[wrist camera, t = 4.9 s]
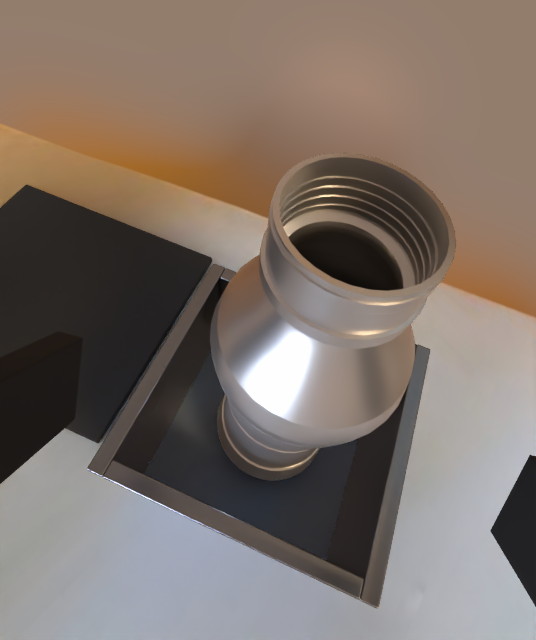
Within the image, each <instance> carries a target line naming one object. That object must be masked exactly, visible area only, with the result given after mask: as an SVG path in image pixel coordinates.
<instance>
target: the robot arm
mask: <svg viewBox="0 0 536 640" xmlns="http://www.w3.org/2000/svg"><path fill="white" fill-rule="evenodd" d="M82 344H83V338H82V337H79V336H75V335H71V334H67V333H63V332H59V331H57V332H55V333H53V334H50V335H48V336H46V337H44V338H42V339H39V340H37V341H35V342H33V343H31V344H28V345H26V346H24V347H22V348H19V349H17V350H15V351H13V352H11V353H8V354H6V355H4V356H2V357H0V484H1V483H2V482H3V481H4V480H5V479H7V478H8V477H9V476H10V475H11V474H12V473H14V472H15V471H16V470H17V469H18V468H19V467H20V466H22V465H23V464H24V463H25V462H26V461H27V460H29V459H30V458H31V457H32V456H33V455H34V454H35V453H37V452H38V451H39V450H40V449H41V448H42V447H43V446H45V445H46V444H47V443H48V442H49V441H50V440H52V439H53V438H54V437H55V436H56V435H57V434H58V433H60V432H61V431H62V430H63V429H64V428H65V427H66V426H68V425H69V424H70V423H71V422H72V421H73V420H75V415H76V405H77V395H78V384H79V374H80V364H81V354H82ZM491 533H492V534H493V536H494V538H495V539H496V541H497V543H498V544H499V546H500V548H501V549H502V551H503V553H504V554H505V556H506V558H507V559H508V561H509V563H510V564H511V566H512V568H513V569H514V571H515V573H516V574H517V576H518V578H519V579H520V581H521V583H522V584H523V586H524V588H525V589H526V591H527V593H528V594H529V596H530V598H531V599H532V601H533V603H534V604H535V606H536V456H532V455H530V456H529V458H528V460H527V462H526V464H525V466H524V467H523V469H522V471H521V473H520V475H519V477H518V479H517V481H516V483H515V485H514V487H513V489H512V490H511V492H510V494H509V496H508V498H507V500H506V502H505V504H504V506H503V508H502V510H501V512H500V513H499V515H498V517H497V519H496V521H495V523H494V525H493V527H492V529H491Z"/></svg>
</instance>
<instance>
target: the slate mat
mask: <svg viewBox="0 0 536 640" xmlns="http://www.w3.org/2000/svg"><path fill="white" fill-rule="evenodd" d="M211 262H212V258H211V257H208V256H206V255H203V254H200V253H198V252H195V251H193V250H190V249H188V248H185V247H183V246H180V245H178V244H175V243H173V242H170V241H168V240H165V239H163V238H160V237H158V236H155V235H152V234H150V233H147V232H145V231H142V230H140V229H137V228H135V227H132V226H130V225H127V224H125V223H122V222H120V221H117V220H115V219H112V218H110V217H107V216H105V215H102V214H99V213H97V212H94V211H92V210H89V209H87V208H84V207H82V206H79V205H77V204H74V203H72V202H69V201H67V200H64V199H62V198H59V197H57V196H54V195H52V194H49V193H46V192H44V191H41V190H39V189H36V188H34V187H31V186H29V185H25V186H24V187H23V188H22V189H21V190H20V191H19V192H17V193H16V194H15V195H14V196H13V197H12V198H11V199H10V200H9V201H8V202H6V203H5V204H4V205H3V206H2V207H1V208H0V357H2V356H4V355H6V354H8V353H11V352H13V351H15V350H17V349H19V348H22V347H24V346H26V345H28V344H31V343H33V342H35V341H37V340H39V339H42V338H44V337H46V336H48V335H50V334H53V333H55V332H57V331H59V332H63V333H67V334H71V335H75V336H79V337H82V338H83V344H82V354H81V364H80V374H79V384H78V395H77V405H76V415H75V420H73V421H72V422H71V423H70V424H69V425H68V426H66V427H65V428H66V429H69V430H71V431H73V432H75V433H77V434H79V435H81V436H84V437H86V438H88V439H90V440H92V441H94V442H96V443H99V442H100V440H101V439H102V437H103V436H104V434H105V432H106V431H107V429H108V428H109V426H110V424H111V423H112V421H113V420H114V418H115V416H116V415H117V413H118V412H119V410H120V408H121V407H122V405H123V404H124V402H125V400H126V399H127V397H128V395H129V394H130V392H131V391H132V389H133V387H134V386H135V384H136V383H137V381H138V379H139V378H140V376H141V375H142V373H143V371H144V370H145V368H146V367H147V365H148V363H149V362H150V360H151V358H152V357H153V355H154V354H155V352H156V350H157V349H158V347H159V346H160V344H161V342H162V341H163V339H164V338H165V336H166V334H167V333H168V331H169V330H170V328H171V326H172V325H173V323H174V321H175V320H176V318H177V317H178V315H179V313H180V312H181V310H182V309H183V307H184V305H185V304H186V302H187V301H188V299H189V297H190V296H191V294H192V293H193V291H194V289H195V288H196V286H197V284H198V283H199V281H200V280H201V278H202V276H203V275H204V273H205V272H206V270H207V268H208V267H209V265H210V264H211Z"/></svg>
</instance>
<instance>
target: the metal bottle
mask: <svg viewBox="0 0 536 640" xmlns="http://www.w3.org/2000/svg"><path fill="white" fill-rule="evenodd" d="M455 248H456V239H455V230H454V227H453V224H452V222H451V218H450V216H449V215H448V213H447V211H446V209H445V208H444V206H443V204H442V203H441V201H440V200H439V199H438V198H437V197H436V196H435V194H434V193H433V192H432V191H431V190H430V189H429V188H428V187H427V186H425V185H424V184H423V183H422V182H421V181H420V180H418V179H417V178H416V177H414V176H412V175H411V174H410V173H408V172H407V171H405V170H403V169H401V168H399V167H396V166H395V165H393V164H391V163H388V162H385V161H383V160H380V159H377V158H373V157H369V156H365V155H360V154H349V153H331V154H325V155H319V156H315V157H312V158H309V159H307V160H304V161H302V162H300V163H299V164H297V165H296V166H294V167H292V168H291V169H290V170H289V171H288V172H287V173H286V174H285V175H284V176H283V177H282V178H281V180H280V182H279V184H278V186H277V187H276V189H275V194H274V195H273V197H272V202H271V206H270V211H269V220H268V228H267V230H266V231H265V233H264V235H263V240H262V244H261V248H260V255H258V256H257V257H255V258H253V259H252V260H251V261H249V262H248V263H247V264H245V265H244V266H243V267H241V268H240V270H239V271H238V272H237V273H236V274H235V275H234V276H233V278H232V279H231V280H230V282H229V283H228V285H227V287H226V289H225V290H224V292H223V294H222V296H221V298H220V299H219V301H218V303H217V305H216V307H215V311H214V314H213V318H212V321H211V330H210V346H211V353H212V360H213V363H214V367H215V371H216V374H217V376H218V379H219V382H220V384H221V387H222V389H223V391H224V392H225V393H224V395H223V398H222V400H221V402H220V405H219V409H218V413H217V429H218V436H219V439H220V442H221V445H222V447H223V449H224V451H225V452H226V454H227V456H228V457H229V458H230V460H231V461H232V462H233V463H234V464H235V465H236V466H237V467H238V468H240V469H241V470H242V471H243V472H245V473H247V474H249V475H251V476H253V477H255V478H259V479H263V480H272V481H278V480H283V479H288V478H290V477H293V476H295V475H297V474H299V473H300V472H302V471H303V470H304V469H306V468H307V467H308V466H309V464H310V463H311V462H312V461H313V460H314V458H315V456H316V455H317V453H318V451H319V449H320V447H321V448H323V447H329V446H334V445H340V444H344V443H347V442H350V441H353V440H355V439H358V438H360V437H362V436H364V435H367V434H369V433H371V432H372V431H373V430H375V429H376V428H377V427H379V426H380V425H381V424H383V423H384V422H385V421H386V420H387V419H388V418H389V417H390V415H391V414H392V413H393V412H394V410H395V409H396V408H397V407H398V405H399V403H400V401H401V399H402V397H403V394H404V392H405V390H406V388H407V385H408V383H409V380H410V377H411V374H412V369H413V364H414V360H415V340H414V336H413V331H412V327H411V323H412V322H413V321H414V320H415V318H416V317H417V316H418V315H419V314H420V312H421V310H422V308H423V307H424V305H425V303H426V300H427V297H428V296H429V295H430V294H431V293H432V291H433V290H434V289H435V288H436V287H437V286H438V285H439V283H440V282H441V281H442V280H443V279H444V277H445V275H446V273H447V271H448V269H449V267H450V265H451V263H452V261H453V259H454V253H455Z"/></svg>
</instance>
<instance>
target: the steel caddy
mask: <svg viewBox="0 0 536 640" xmlns="http://www.w3.org/2000/svg"><path fill="white" fill-rule="evenodd" d="M235 274H236V272H234V271H231V270H229V269H225V268H224V267H222V266H219V265H217V264H213V265H212V267H211V268H210V270H209V272H208V273H207V275H206V276H205V278H204V280H203V281H202V283H201V284H200V286H199V288H198V289H197V291H196V293H195V294H194V296H193V297H192V299H191V301H190V302H189V304H188V306H187V307H186V309H185V310H184V312H183V314H182V315H181V317H180V319H179V320H178V322H177V323H176V325H175V327H174V328H173V330H172V332H171V333H170V335H169V336H168V338H167V340H166V341H165V343H164V344H163V346H162V348H161V349H160V351H159V353H158V354H157V356H156V357H155V359H154V361H153V362H152V364H151V366H150V367H149V369H148V370H147V372H146V374H145V375H144V377H143V379H142V380H141V382H140V383H139V385H138V387H137V388H136V390H135V392H134V393H133V395H132V396H131V398H130V400H129V401H128V403H127V404H126V406H125V408H124V409H123V411H122V413H121V414H120V416H119V417H118V419H117V421H116V422H115V424H114V426H113V427H112V429H111V430H110V432H109V434H108V435H107V437H106V439H105V440H104V442H103V443H102V445H101V447H100V448H99V450H98V452H97V453H96V455H95V456H94V458H93V460H92V461H91V463H90V464H89V466H88V468H87V470H88V471H90V472H92V473H95V474H97V475H99V476H101V477H104V478H105V479H107V480H109V481H111V482H113V483H115V484H118V485H120V486H122V487H124V488H126V489H128V490H130V491H132V492H134V493H136V494H138V495H141V496H143V497H145V498H147V499H149V500H151V501H153V502H155V503H157V504H159V505H161V506H164V507H166V508H168V509H170V510H172V511H174V512H176V513H178V514H180V515H182V516H184V517H187V518H189V519H191V520H193V521H195V522H197V523H199V524H201V525H203V526H205V527H207V528H209V529H212V530H214V531H216V532H218V533H220V534H222V535H224V536H226V537H228V538H230V539H232V540H235V541H237V542H239V543H241V544H243V545H245V546H247V547H249V548H251V549H253V550H255V551H258V552H260V553H262V554H264V555H266V556H268V557H270V558H272V559H274V560H276V561H278V562H281V563H283V564H285V565H287V566H289V567H291V568H293V569H295V570H297V571H299V572H301V573H304V574H306V575H308V576H310V577H312V578H314V579H316V580H318V581H320V582H322V583H324V584H327V585H329V586H331V587H333V588H335V589H337V590H339V591H341V592H343V593H345V594H347V595H350V596H352V597H354V598H356V599H359V600H360V601H362V602H364V603H366V604H368V605H370V606H372V607H375V608H377V609H378V608H379V604H380V599H381V594H382V589H383V584H384V579H385V574H386V569H387V564H388V559H389V554H390V549H391V544H392V539H393V534H394V529H395V524H396V519H397V514H398V509H399V504H400V499H401V494H402V489H403V484H404V479H405V474H406V469H407V464H408V459H409V454H410V449H411V444H412V439H413V434H414V429H415V424H416V419H417V414H418V409H419V404H420V399H421V394H422V389H423V384H424V379H425V374H426V369H427V364H428V359H429V354H430V349H428V348H425V347H423V346H420V345H416V344H415V360H414V364H413V369H412V374H411V377H410V380H409V383H408V385H407V388H406V390H405V392H404V394H403V397H402V399H401V401H400V403H399V405H398V407H397V408H396V409H395V410H394V412H393V413H392V414H391V415H390V417H389V418H388V419H387V420H386V421H385V422H384V423H383V424H381V425H380V426H379V427H377V428H376V429H375V430H373V431H372V432H371V433H369V434H367V435H364V436H362V437H360V438H359V441H358V445H357V448H356V452H355V456H354V459H353V463H352V467H351V470H350V474H349V478H348V481H347V485H346V489H345V492H344V496H343V500H342V503H341V507H340V511H339V514H338V518H337V522H336V526H335V529H334V533H333V537H332V540H331V544H330V548H329V551H328V555H327V559H326V560H325V559H323V558H321V557H319V556H316V555H314V554H312V553H310V552H308V551H306V550H304V549H302V548H299V547H297V546H295V545H293V544H291V543H289V542H287V541H285V540H283V539H280V538H278V537H276V536H274V535H272V534H270V533H268V532H266V531H263V530H261V529H259V528H257V527H255V526H253V525H251V524H249V523H246V522H244V521H242V520H240V519H238V518H236V517H234V516H232V515H229V514H227V513H225V512H223V511H221V510H219V509H217V508H215V507H212V506H210V505H208V504H206V503H204V502H202V501H200V500H198V499H196V498H193V497H191V496H189V495H187V494H185V493H183V492H181V491H179V490H176V489H174V488H172V487H170V486H168V485H166V484H164V483H162V482H159V481H157V480H155V479H153V478H151V477H149V476H147V475H145V474H144V473H145V471H146V469H147V467H148V465H149V463H150V461H151V460H152V458H153V456H154V454H155V452H156V450H157V448H158V447H159V445H160V443H161V441H162V439H163V437H164V435H165V434H166V432H167V430H168V428H169V426H170V424H171V422H172V421H173V419H174V417H175V415H176V413H177V411H178V409H179V408H180V406H181V404H182V402H183V400H184V398H185V396H186V395H187V393H188V391H189V389H190V387H191V385H192V384H193V382H194V380H195V378H196V376H197V374H198V372H199V371H200V369H201V367H202V365H203V363H204V361H205V359H206V358H207V356H208V354H209V352H210V350H211V346H210V330H211V321H212V318H213V314H214V311H215V307H216V305H217V303H218V301H219V299H220V298H221V296H222V294H223V292H224V290H225V289H226V287H227V285H228V283H229V282H230V280H231V279H232V278H233V276H234V275H235Z"/></svg>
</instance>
